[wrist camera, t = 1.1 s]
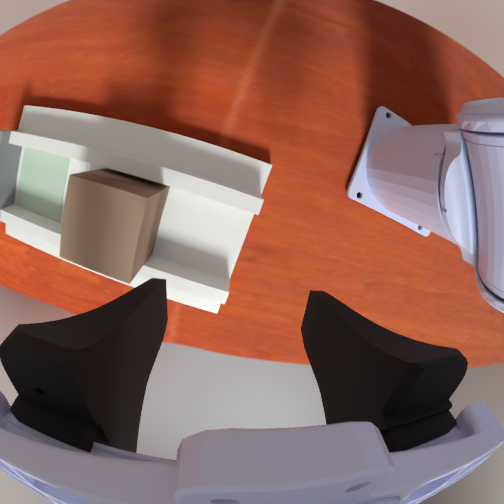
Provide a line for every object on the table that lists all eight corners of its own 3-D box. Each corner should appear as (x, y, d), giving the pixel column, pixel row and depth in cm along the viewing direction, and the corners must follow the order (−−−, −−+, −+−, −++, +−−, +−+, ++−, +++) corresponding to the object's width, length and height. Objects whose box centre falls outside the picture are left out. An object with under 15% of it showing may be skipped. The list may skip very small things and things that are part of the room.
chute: (270, 164, 18) (279, 167, 15) (217, 307, 22) (215, 336, 18) (31, 106, 15) (2, 103, 11) (11, 230, 18) (-14, 243, 14)
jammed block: (170, 186, 17) (147, 198, 13) (152, 252, 19) (129, 284, 14) (107, 167, 16) (69, 174, 12) (94, 232, 18) (59, 256, 13)
